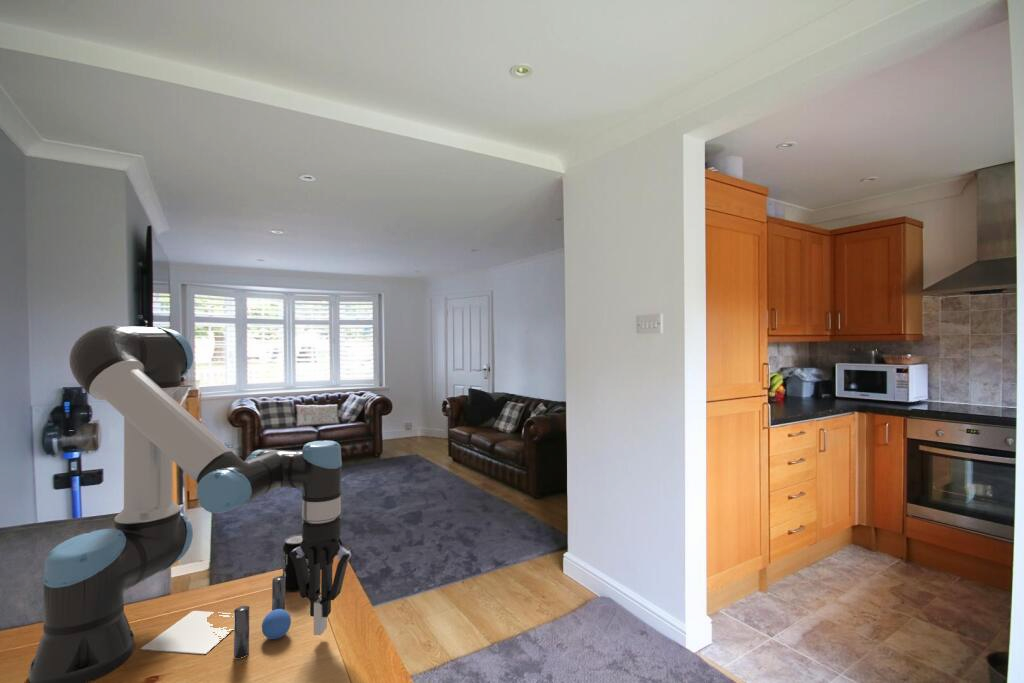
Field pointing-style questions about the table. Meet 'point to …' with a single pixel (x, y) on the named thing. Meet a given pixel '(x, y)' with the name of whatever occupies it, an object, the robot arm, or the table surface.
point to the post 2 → (278, 593)
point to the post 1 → (241, 631)
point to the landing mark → (189, 635)
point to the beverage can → (291, 562)
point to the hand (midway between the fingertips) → (320, 631)
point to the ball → (276, 624)
